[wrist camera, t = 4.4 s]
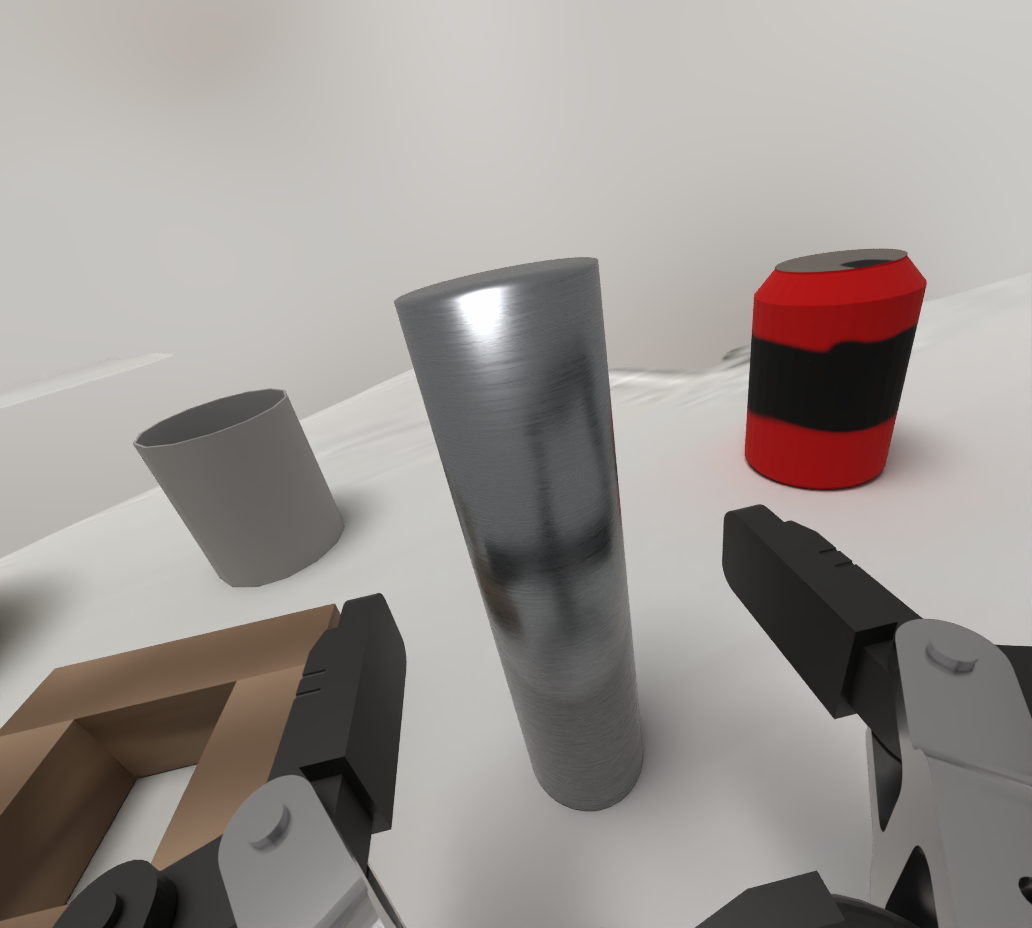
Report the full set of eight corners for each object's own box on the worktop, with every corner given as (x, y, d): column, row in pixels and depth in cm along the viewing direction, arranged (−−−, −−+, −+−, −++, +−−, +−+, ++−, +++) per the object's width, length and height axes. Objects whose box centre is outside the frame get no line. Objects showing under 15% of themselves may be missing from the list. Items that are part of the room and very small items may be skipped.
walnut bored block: (110, 725, 21) (54, 668, 19) (366, 664, 21) (334, 603, 20) (-229, 1222, 11) (-428, 1204, 9) (285, 1086, 11) (200, 1041, 9)
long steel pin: (558, 681, 19) (469, 271, 11) (655, 718, 17) (626, 249, 9) (510, 777, 16) (350, 312, 9) (621, 835, 14) (539, 291, 6)
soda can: (785, 502, 26) (811, 283, 21) (723, 446, 33) (730, 268, 27) (918, 477, 26) (980, 248, 20) (828, 425, 33) (856, 242, 27)
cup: (191, 587, 30) (97, 453, 25) (270, 513, 37) (208, 396, 32) (303, 586, 28) (223, 439, 23) (364, 507, 35) (313, 382, 30)
